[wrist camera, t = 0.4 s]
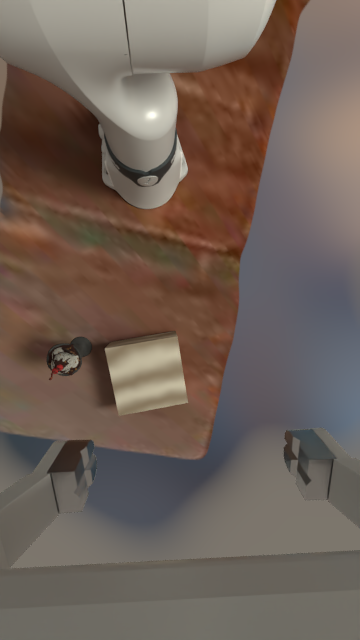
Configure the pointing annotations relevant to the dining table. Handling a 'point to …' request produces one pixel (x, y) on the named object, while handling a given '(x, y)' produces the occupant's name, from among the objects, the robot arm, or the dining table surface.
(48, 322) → the dining table surface
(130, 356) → the cream block
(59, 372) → the sundae
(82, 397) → the dining table surface
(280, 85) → the dining table surface
